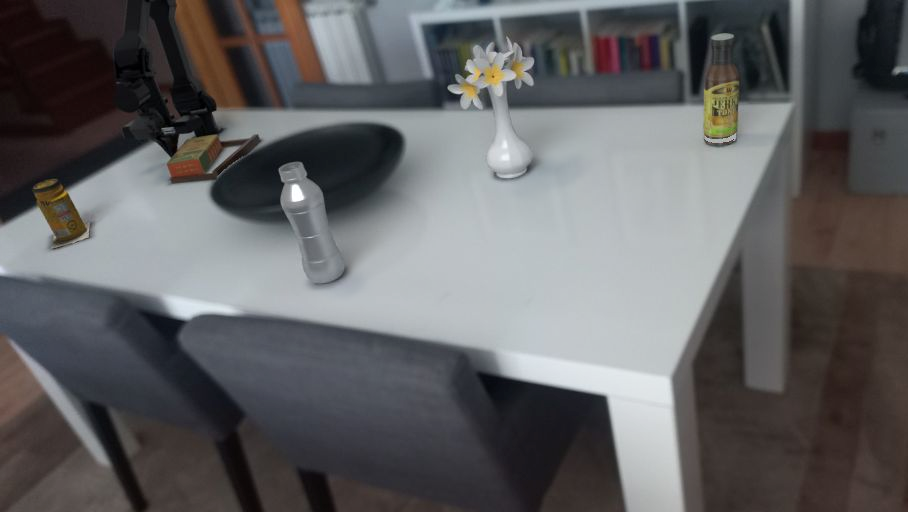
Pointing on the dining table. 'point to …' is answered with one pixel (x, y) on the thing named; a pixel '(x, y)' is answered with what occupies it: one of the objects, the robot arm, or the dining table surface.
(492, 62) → the flower vase
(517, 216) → the dining table surface
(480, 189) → the dining table surface
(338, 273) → the plastic bottle
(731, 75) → the sauce bottle
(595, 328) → the dining table surface
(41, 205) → the condiment
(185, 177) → the frame
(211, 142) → the carton
